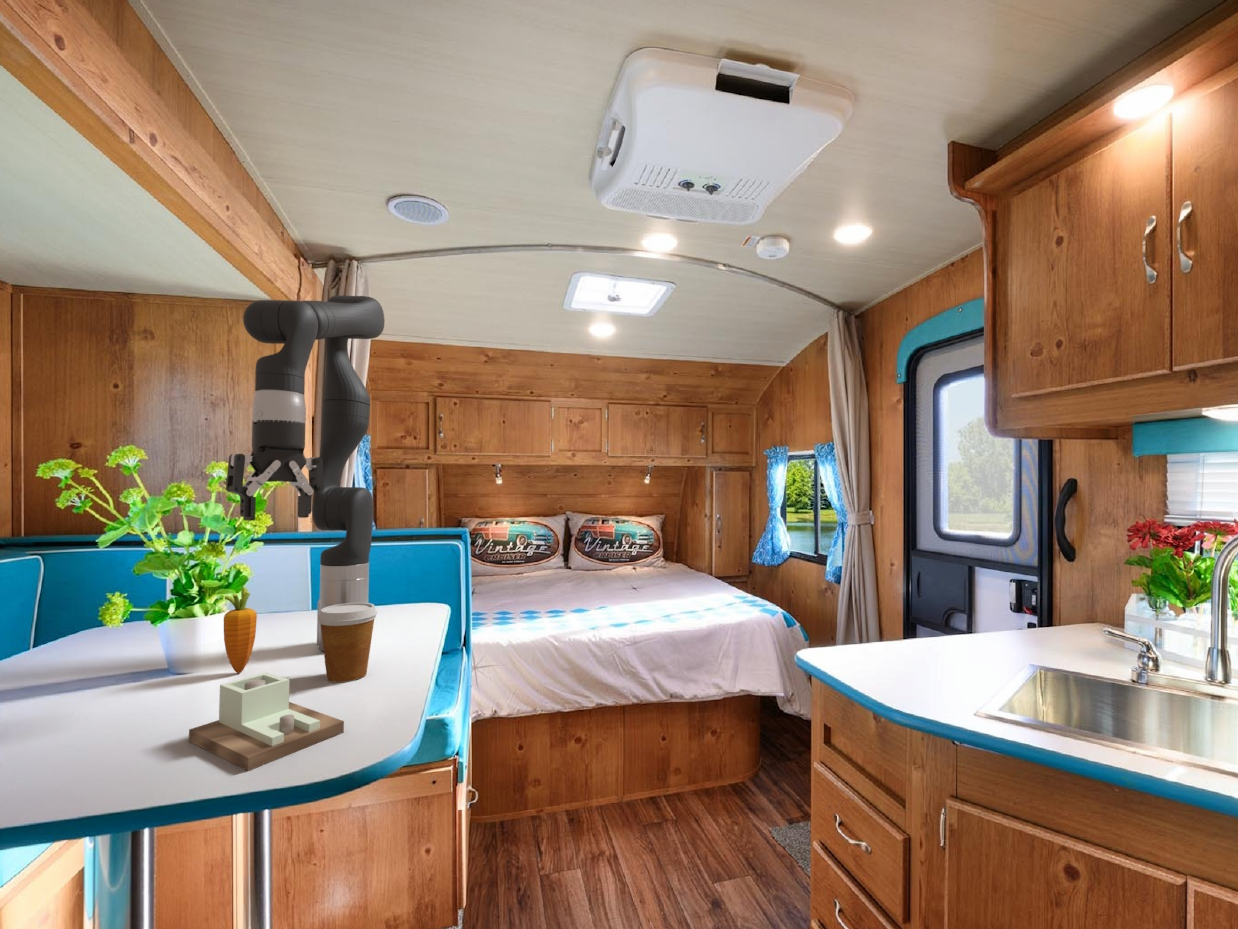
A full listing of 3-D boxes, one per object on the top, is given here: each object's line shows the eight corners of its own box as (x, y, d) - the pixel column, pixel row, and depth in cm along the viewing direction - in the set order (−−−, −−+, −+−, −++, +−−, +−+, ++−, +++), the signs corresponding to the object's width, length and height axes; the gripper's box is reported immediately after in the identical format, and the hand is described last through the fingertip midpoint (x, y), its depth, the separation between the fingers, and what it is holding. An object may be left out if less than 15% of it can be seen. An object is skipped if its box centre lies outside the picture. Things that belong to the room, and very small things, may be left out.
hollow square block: (218, 722, 76) (219, 684, 76) (265, 707, 81) (266, 672, 81) (272, 746, 69) (273, 705, 69) (319, 728, 74) (320, 689, 74)
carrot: (235, 679, 97) (237, 592, 97) (215, 676, 98) (217, 590, 99) (262, 670, 102) (264, 587, 102) (242, 667, 103) (244, 585, 104)
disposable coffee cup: (304, 680, 97) (305, 610, 97) (353, 664, 105) (354, 600, 105) (340, 689, 92) (341, 616, 93) (388, 672, 101) (389, 605, 101)
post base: (188, 741, 73) (190, 690, 74) (282, 709, 84) (283, 665, 84) (248, 770, 66) (249, 714, 66) (343, 732, 76) (344, 683, 76)
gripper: (308, 425, 100) (306, 516, 100) (219, 417, 88) (216, 520, 88) (333, 423, 97) (332, 517, 96) (244, 414, 84) (241, 522, 84)
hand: (277, 518), depth 92 cm, fingers open, 8 cm apart
